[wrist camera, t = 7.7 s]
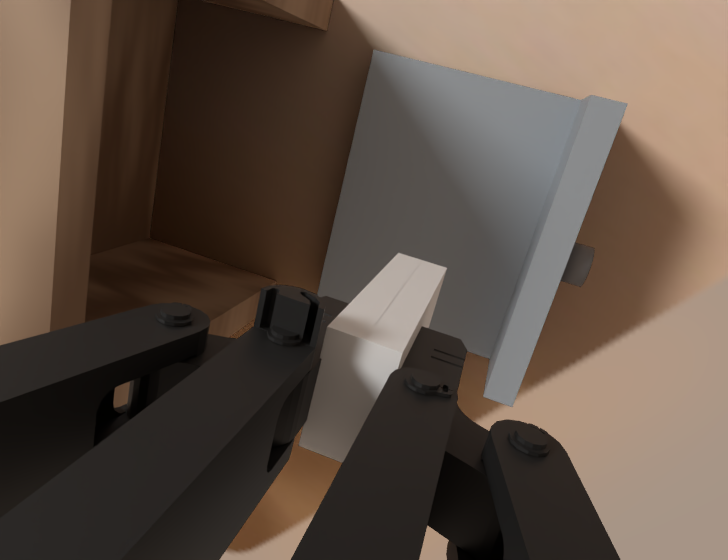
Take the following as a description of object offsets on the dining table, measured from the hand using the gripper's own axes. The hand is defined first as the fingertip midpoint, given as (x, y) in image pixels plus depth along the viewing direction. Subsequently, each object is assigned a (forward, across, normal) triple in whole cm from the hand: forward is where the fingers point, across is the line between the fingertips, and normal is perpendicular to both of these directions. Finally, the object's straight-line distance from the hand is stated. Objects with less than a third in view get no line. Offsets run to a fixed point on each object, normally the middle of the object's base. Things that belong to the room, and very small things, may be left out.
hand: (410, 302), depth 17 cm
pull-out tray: (+17, 0, 0) cm, 17 cm away
